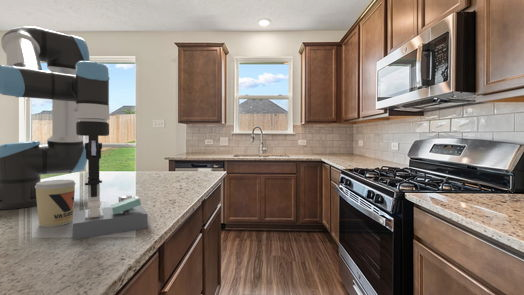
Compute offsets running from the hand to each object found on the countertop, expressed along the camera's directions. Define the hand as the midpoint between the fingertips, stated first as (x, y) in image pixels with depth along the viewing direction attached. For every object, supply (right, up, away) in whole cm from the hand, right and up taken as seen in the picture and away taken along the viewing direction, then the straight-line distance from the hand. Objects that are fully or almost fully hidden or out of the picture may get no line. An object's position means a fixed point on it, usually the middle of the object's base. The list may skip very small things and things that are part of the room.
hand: (93, 208), depth 73 cm
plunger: (+5, -1, +7) cm, 9 cm away
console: (+3, -6, +3) cm, 7 cm away
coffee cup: (-14, -6, +5) cm, 16 cm away
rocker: (+8, 0, +2) cm, 8 cm away
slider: (+1, -2, -2) cm, 3 cm away
